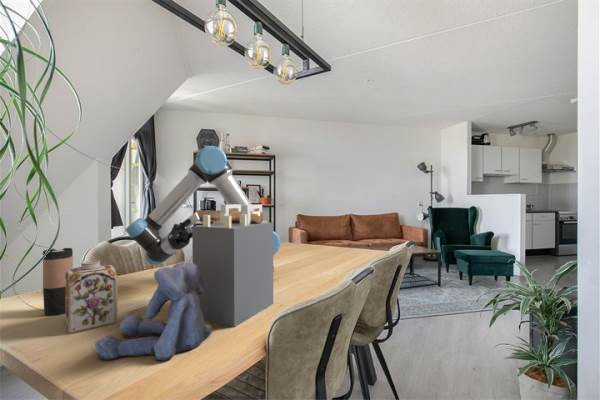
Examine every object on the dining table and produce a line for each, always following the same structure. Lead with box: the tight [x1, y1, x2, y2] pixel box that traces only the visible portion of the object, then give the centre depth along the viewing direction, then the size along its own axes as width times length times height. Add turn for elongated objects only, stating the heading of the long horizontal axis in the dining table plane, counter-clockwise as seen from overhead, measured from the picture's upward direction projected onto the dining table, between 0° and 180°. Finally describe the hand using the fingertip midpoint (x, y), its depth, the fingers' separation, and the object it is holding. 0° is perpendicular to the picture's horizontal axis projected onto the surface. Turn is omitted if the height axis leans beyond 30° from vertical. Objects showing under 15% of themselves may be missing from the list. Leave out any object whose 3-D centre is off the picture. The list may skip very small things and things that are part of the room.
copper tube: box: [194, 209, 264, 224], centre depth 107 cm, size 26×4×4 cm
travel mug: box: [42, 247, 74, 317], centre depth 99 cm, size 8×8×20 cm
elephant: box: [94, 260, 213, 362], centre depth 79 cm, size 21×25×21 cm
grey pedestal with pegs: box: [191, 204, 274, 328], centre depth 100 cm, size 21×16×34 cm
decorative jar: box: [65, 260, 119, 334], centre depth 90 cm, size 12×12×18 cm
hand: (211, 214), depth 111 cm, fingers open, 13 cm apart
